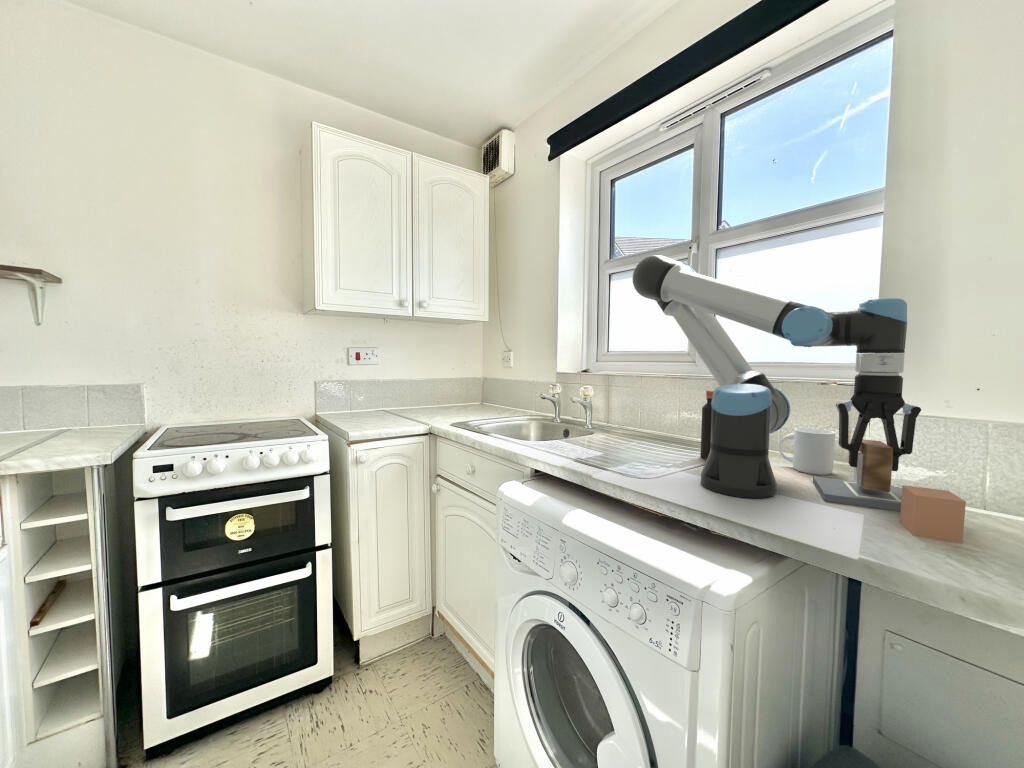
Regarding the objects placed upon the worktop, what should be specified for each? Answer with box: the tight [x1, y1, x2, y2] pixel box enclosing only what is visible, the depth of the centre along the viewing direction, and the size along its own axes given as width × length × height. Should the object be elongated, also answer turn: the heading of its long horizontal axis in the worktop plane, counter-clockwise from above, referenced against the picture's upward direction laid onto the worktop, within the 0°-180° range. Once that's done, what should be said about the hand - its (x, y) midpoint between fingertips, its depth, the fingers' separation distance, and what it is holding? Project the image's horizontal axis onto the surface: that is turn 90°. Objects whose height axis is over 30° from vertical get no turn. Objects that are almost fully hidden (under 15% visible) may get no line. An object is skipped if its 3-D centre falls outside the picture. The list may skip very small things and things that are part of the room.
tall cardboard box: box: [859, 439, 893, 492], centre depth 87 cm, size 4×8×9 cm, turn 152°
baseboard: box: [812, 476, 902, 513], centre depth 87 cm, size 18×14×2 cm
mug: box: [778, 427, 836, 476], centre depth 108 cm, size 9×12×11 cm
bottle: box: [700, 389, 715, 460], centre depth 119 cm, size 7×7×20 cm
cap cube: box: [899, 484, 967, 544], centre depth 70 cm, size 6×6×7 cm
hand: (871, 483), depth 87 cm, fingers closed on tall cardboard box, 4 cm apart
